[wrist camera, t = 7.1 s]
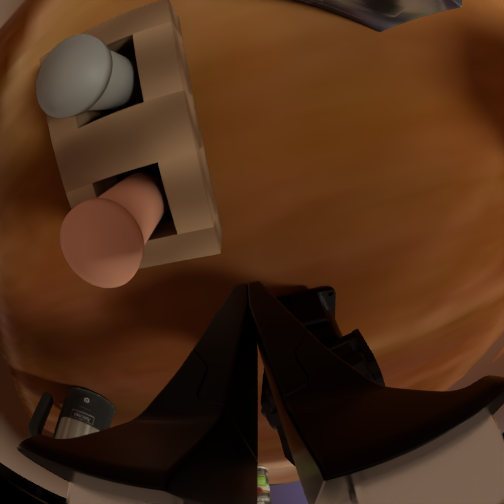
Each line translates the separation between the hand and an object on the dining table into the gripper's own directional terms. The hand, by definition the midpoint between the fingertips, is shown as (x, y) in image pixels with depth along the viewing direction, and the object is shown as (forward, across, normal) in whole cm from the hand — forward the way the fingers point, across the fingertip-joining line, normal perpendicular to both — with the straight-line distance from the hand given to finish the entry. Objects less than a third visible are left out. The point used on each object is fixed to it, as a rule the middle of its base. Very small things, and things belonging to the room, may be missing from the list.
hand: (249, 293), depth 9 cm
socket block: (+13, +7, -6) cm, 16 cm away
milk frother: (+13, +35, +31) cm, 49 cm away
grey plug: (+13, +7, -11) cm, 18 cm away
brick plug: (+11, +7, -2) cm, 13 cm away
